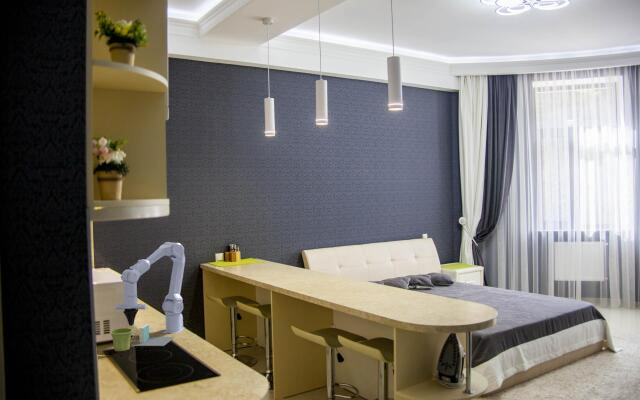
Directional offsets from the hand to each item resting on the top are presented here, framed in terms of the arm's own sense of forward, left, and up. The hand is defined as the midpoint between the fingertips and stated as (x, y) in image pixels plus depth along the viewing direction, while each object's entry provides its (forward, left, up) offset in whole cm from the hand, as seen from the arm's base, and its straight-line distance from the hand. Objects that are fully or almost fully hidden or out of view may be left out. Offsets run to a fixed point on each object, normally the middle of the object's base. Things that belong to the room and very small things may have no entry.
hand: (131, 325), depth 250 cm
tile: (0, +6, -8) cm, 10 cm away
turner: (-8, +2, -8) cm, 12 cm away
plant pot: (+12, +1, -8) cm, 15 cm away
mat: (0, +10, -8) cm, 13 cm away
